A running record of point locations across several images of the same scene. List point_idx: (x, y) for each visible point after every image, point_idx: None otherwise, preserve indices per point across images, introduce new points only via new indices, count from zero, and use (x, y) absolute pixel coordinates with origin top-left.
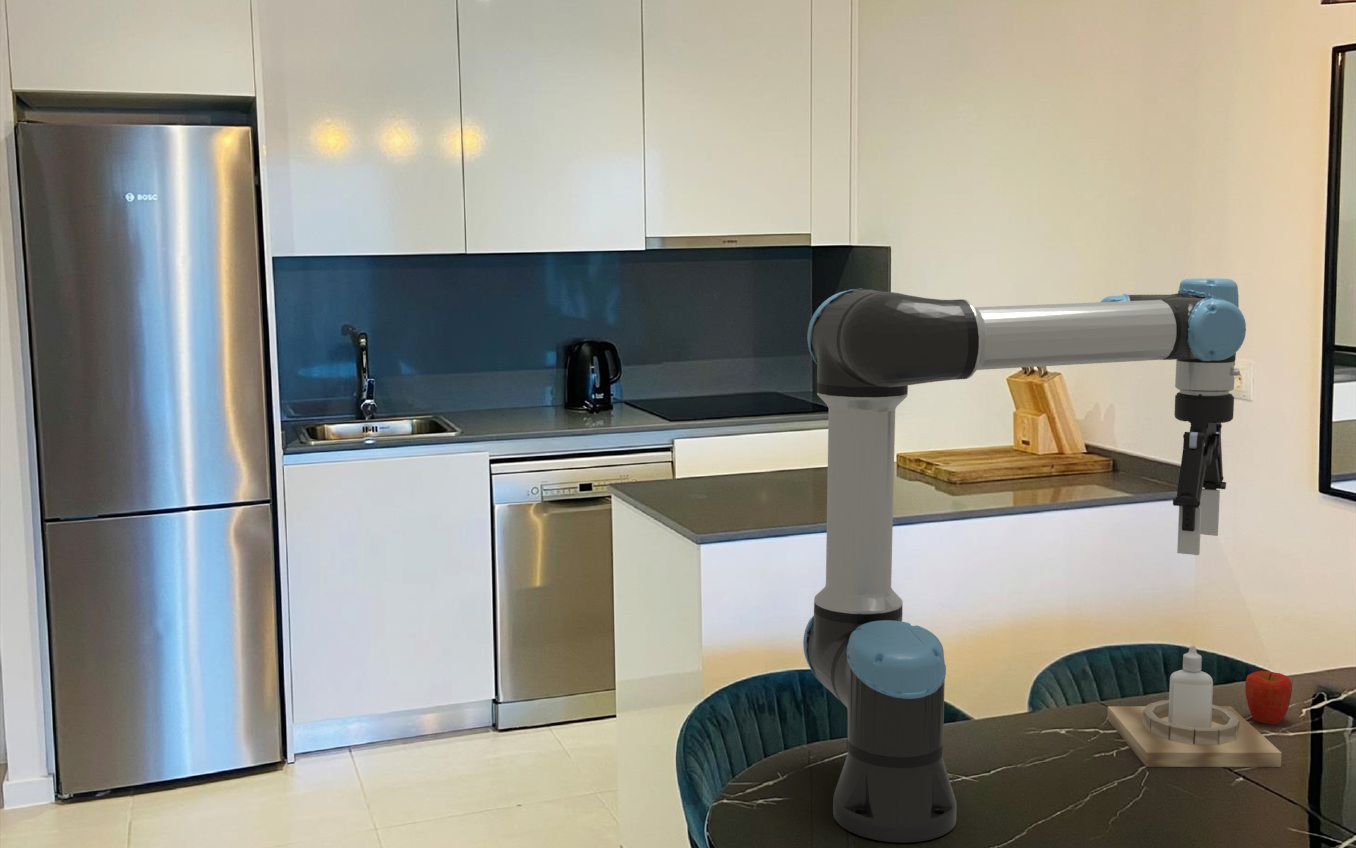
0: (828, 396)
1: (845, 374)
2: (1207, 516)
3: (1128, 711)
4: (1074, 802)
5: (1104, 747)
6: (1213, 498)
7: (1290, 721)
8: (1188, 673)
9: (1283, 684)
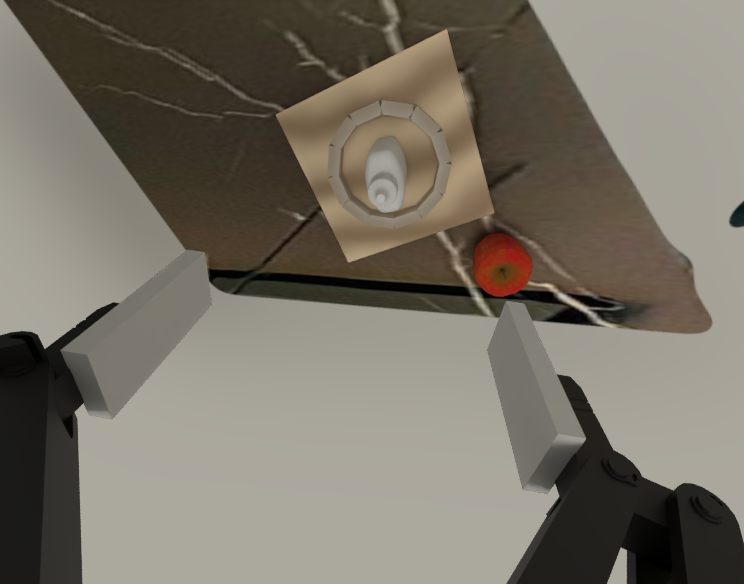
0: None
1: None
2: (511, 368)
3: (431, 69)
4: (122, 31)
5: (324, 44)
6: (520, 443)
7: None
8: (370, 181)
9: (482, 287)
